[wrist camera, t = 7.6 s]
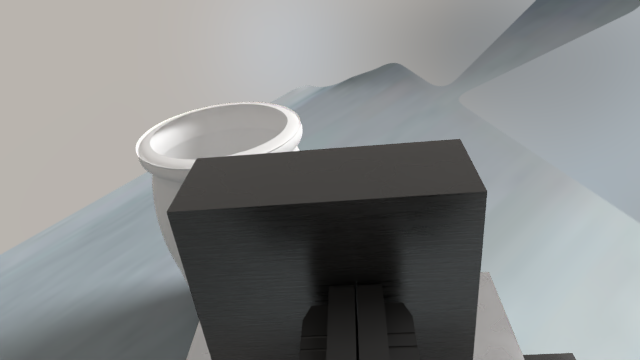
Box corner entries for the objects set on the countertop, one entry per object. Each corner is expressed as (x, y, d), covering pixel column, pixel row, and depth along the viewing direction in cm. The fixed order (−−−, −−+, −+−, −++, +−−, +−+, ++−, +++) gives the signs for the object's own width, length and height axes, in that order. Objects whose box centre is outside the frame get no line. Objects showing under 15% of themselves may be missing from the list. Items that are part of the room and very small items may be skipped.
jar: (177, 362, 34) (111, 176, 26) (201, 267, 43) (157, 108, 36) (328, 345, 34) (303, 154, 26) (320, 254, 43) (300, 92, 35)
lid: (99, 666, 13) (-122, 412, 8) (214, 300, 25) (159, 102, 20) (636, 673, 12) (815, 382, 7) (487, 287, 24) (507, 73, 19)
